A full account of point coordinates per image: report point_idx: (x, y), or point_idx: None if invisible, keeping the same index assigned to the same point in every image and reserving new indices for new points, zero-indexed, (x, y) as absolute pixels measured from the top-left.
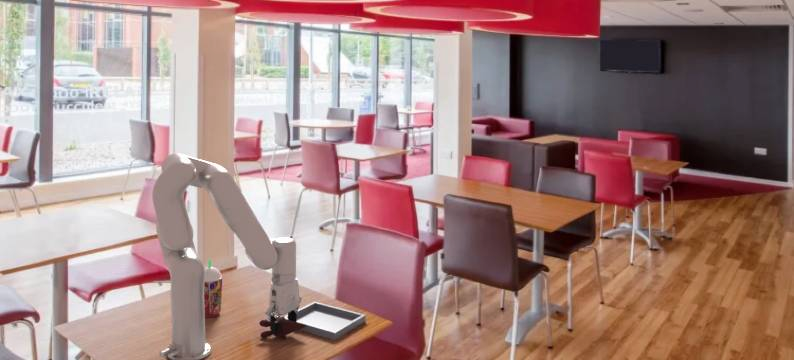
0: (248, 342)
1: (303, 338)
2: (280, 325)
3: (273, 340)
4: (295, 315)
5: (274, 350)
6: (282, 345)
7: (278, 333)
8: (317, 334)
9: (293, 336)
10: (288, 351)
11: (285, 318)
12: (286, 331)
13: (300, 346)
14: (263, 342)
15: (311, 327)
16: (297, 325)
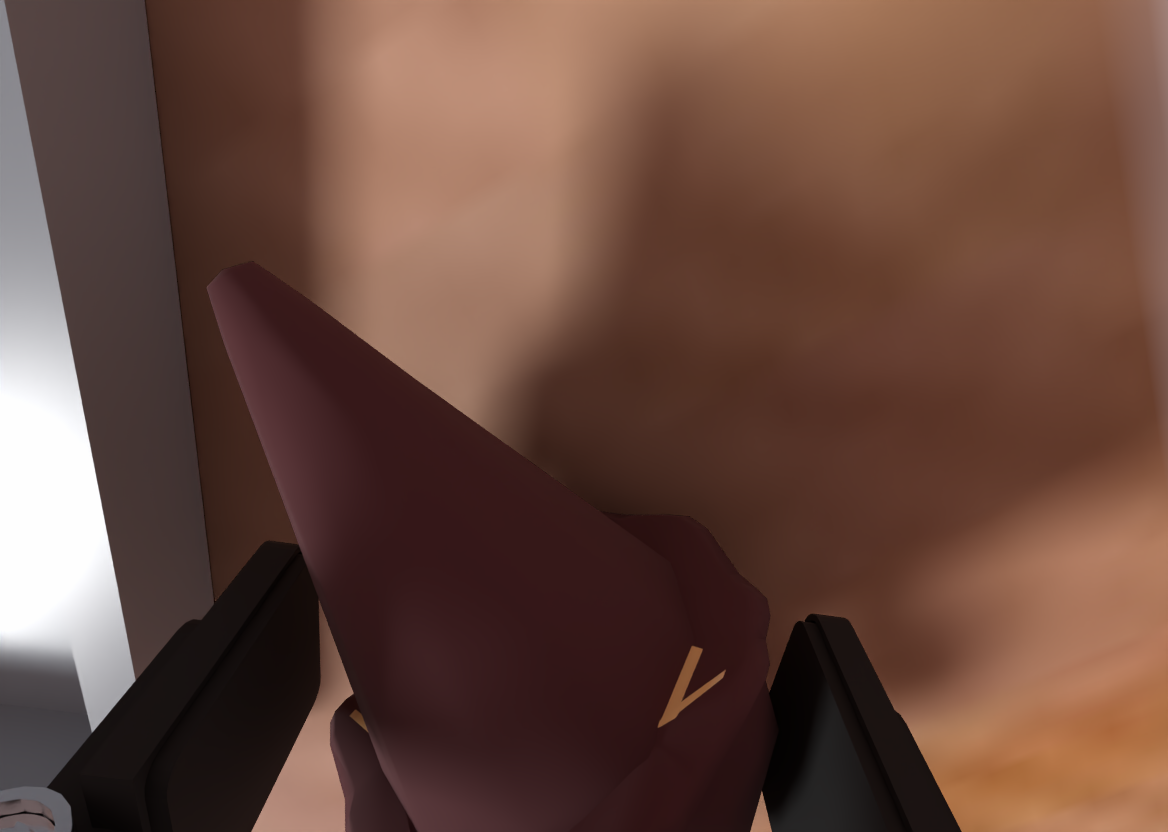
0: None
1: (444, 235)
2: (746, 761)
3: None
4: (158, 753)
5: (1075, 438)
6: (856, 421)
7: (852, 632)
8: (136, 32)
9: None
10: (1081, 198)
11: None
12: (649, 559)
13: (801, 90)
14: None
15: (75, 224)
16: (433, 460)
